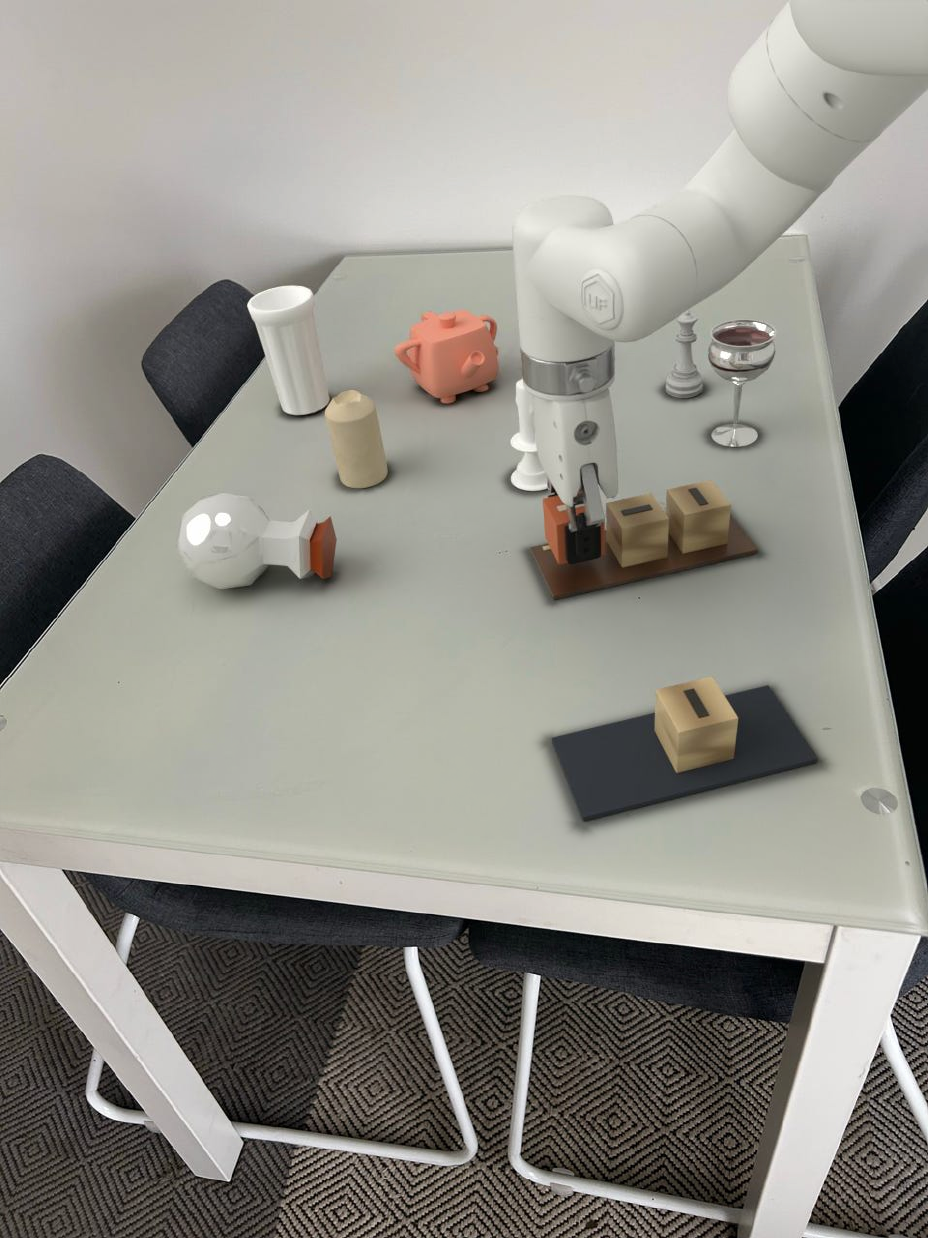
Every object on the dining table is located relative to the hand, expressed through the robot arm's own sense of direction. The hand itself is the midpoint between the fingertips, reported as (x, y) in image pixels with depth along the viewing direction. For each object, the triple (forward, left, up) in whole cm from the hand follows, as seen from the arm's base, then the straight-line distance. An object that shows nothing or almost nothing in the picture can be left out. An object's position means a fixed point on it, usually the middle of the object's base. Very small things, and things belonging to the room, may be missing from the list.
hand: (575, 541), depth 88 cm
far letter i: (-6, 0, -2) cm, 6 cm away
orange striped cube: (0, 0, 0) cm, 0 cm away
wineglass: (-24, -16, -3) cm, 29 cm away
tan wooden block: (-12, 0, -2) cm, 12 cm away
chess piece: (-23, -28, -3) cm, 36 cm away
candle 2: (-1, -16, -3) cm, 17 cm away
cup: (+22, -44, -3) cm, 50 cm away
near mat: (-1, +25, -3) cm, 25 cm away
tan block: (-2, +25, -2) cm, 25 cm away
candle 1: (+17, -24, -3) cm, 30 cm away
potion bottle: (+29, -9, -3) cm, 31 cm away
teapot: (+3, -40, -3) cm, 41 cm away
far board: (-7, 0, -3) cm, 7 cm away
